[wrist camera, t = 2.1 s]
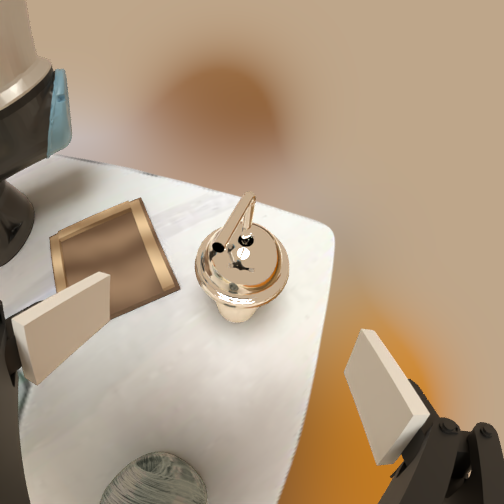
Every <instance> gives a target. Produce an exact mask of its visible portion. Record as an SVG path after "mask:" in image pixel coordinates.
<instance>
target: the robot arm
mask: <svg viewBox="0 0 504 504" xmlns="http://www.w3.org/2000/svg"><path fill="white" fill-rule="evenodd" d="M71 138H72V127H71V117H70V106H69V97H68V87H67V78H66V74H65V70H64V69H56V70H55V71H53V69H52V65H51V62H50V60H49V59H47V58H44V57H40V56H38V55H37V54H36V49H35V45H34V41H33V36H32V32H31V27H30V21H29V16H28V10H27V3H26V0H0V266H2V265H3V264H5V263H6V262H8V261H9V260H10V259H11V258H12V257H13V256H14V255H15V254H16V253H17V252H18V251H19V250H20V248H21V247H22V246H23V244H24V242H25V241H26V239H27V237H28V235H29V233H30V231H31V228H32V225H33V221H34V209H33V206H32V204H31V203H30V201H29V200H28V198H27V197H26V196H25V195H24V194H23V193H21V192H20V191H19V190H18V189H16V188H15V187H14V186H12V185H11V184H10V183H9V182H7V181H6V179H7V178H9V177H10V176H12V175H14V174H16V173H18V172H19V171H21V170H23V169H25V168H27V167H29V166H31V165H33V164H35V163H37V162H39V161H41V160H43V159H45V158H49V157H50V155H52V154H54V153H56V152H58V151H60V150H62V149H64V148H65V147H67V146H68V144H69V143H70V141H71ZM109 321H110V275H109V274H106V273H102V272H97V273H95V274H93V275H91V276H89V277H87V278H85V279H83V280H81V281H79V282H77V283H75V284H74V285H72V286H70V287H68V288H66V289H64V290H62V291H60V292H58V293H57V294H55V295H53V296H51V297H49V298H47V299H46V300H43V301H39V302H36V303H34V304H32V305H30V306H29V307H27V308H25V309H23V310H21V311H20V312H18V313H16V314H14V315H12V316H11V317H9V318H7V319H6V320H5V317H4V311H3V305H2V302H1V300H0V504H30V500H29V495H28V491H27V486H26V481H25V475H24V469H23V463H22V455H21V446H20V435H19V419H18V379H19V377H18V373H17V370H18V369H19V368H20V367H22V369H23V373H24V376H25V378H26V379H28V380H29V381H31V382H32V383H34V384H36V385H37V386H38V385H39V384H40V383H41V382H42V381H43V380H44V379H45V378H46V377H47V376H48V375H49V374H51V373H52V372H53V371H54V370H55V369H56V368H57V367H58V366H59V365H60V364H62V363H63V362H64V361H65V360H66V359H67V358H68V357H69V356H70V355H71V354H73V353H74V352H75V351H76V350H77V349H78V348H79V347H80V346H82V345H83V344H84V343H85V342H86V341H87V340H88V339H90V338H91V337H92V336H93V335H94V334H95V333H96V332H98V331H99V330H100V329H101V328H102V327H103V326H104V325H106V324H107V323H108V322H109ZM344 375H345V377H346V380H347V382H348V385H349V388H350V390H351V393H352V395H353V398H354V401H355V404H356V407H357V409H358V412H359V415H360V418H361V421H362V423H363V426H364V429H365V432H366V435H367V438H368V441H369V444H370V447H371V449H372V452H373V455H374V458H375V461H376V464H377V465H386V464H393V463H394V462H395V461H396V460H397V459H398V457H399V456H400V455H401V454H402V457H403V459H404V462H403V463H402V464H401V465H400V466H399V467H398V468H397V470H396V471H395V472H394V473H393V474H392V475H391V476H390V477H391V478H392V477H393V476H394V477H393V479H392V481H391V483H390V485H389V486H388V488H387V490H386V491H385V493H384V495H383V496H382V498H381V500H380V501H379V503H378V504H504V458H503V454H502V449H501V445H500V441H499V438H498V434H497V432H496V430H495V429H494V428H493V426H492V425H490V424H487V423H484V422H480V423H477V424H476V426H475V427H474V428H473V430H472V431H471V432H468V431H460V428H459V426H458V425H457V424H456V423H455V422H454V421H452V420H450V419H448V418H440V417H439V416H438V414H437V413H436V411H435V410H434V408H433V407H432V405H431V404H430V402H429V401H428V400H427V398H426V396H425V395H424V394H423V392H422V390H421V389H420V387H419V386H418V385H417V384H415V382H413V381H412V380H411V379H407V378H406V376H405V375H404V373H403V372H402V370H401V369H400V367H399V366H398V364H397V363H396V361H395V360H394V358H393V357H392V356H391V354H390V353H389V351H388V350H387V348H386V347H385V346H384V344H383V343H382V341H381V340H380V338H379V337H378V336H377V334H376V333H375V332H374V330H367V329H361V331H360V333H359V336H358V338H357V341H356V344H355V346H354V349H353V351H352V354H351V356H350V359H349V361H348V364H347V366H346V368H345V370H344ZM470 470H471V474H470V477H468V473H469V472H470Z"/></svg>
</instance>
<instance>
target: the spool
mask: <svg viewBox="0 0 504 504" xmlns="http://www.w3.org/2000/svg"><path fill="white" fill-rule="evenodd" d="M206 502H207V492H206V487H205V484H204V483H203V481H202V480H201V478H200V476H199V475H198V474H197V472H196V471H195V470H194V469H193V468H192V467H191V466H190V465H189V464H187V463H186V462H185V461H184V460H182V459H180V458H178V457H177V456H175V455H172V454H169V453H164V452H154V453H149V454H146V455H144V456H142V457H140V458H138V459H137V460H135V461H133V462H131V463H130V464H129V465H127V466H126V467H125V468H124V469H123V470H122V471H121V472H120V473H119V474H118V475H117V476H116V477H115V478H114V479H113V480H112V482H111V483H110V484H109V486H108V487H107V488H106V490H105V491H104V493H103V495H102V498H101V501H100V504H206Z"/></svg>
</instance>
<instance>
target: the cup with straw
mask: <svg viewBox="0 0 504 504" xmlns="http://www.w3.org/2000/svg"><path fill="white" fill-rule="evenodd" d="M255 203H256V196H255V194H254V193H253V192H251V191H248V192H246V193H244V194H243V196H242V197H241V199H240V201H239V202H238V204H237V205H236V207H235V209H234V210H233V212H232V213H231V215H230V216H229V218H228V220H227V221H226V223H225V224H224V226H223V227H221V228H219V229H217V230H215V231H213V232H212V233H211V234H209V235H208V236H207V237H206V238H205V239H204V241H203V242H202V243H201V245H200V247H199V249H198V252H197V256H196V259H195V272H196V277H197V280H198V282H199V284H200V286H201V287H202V289H203V290H204V292H205V293H206V294H207V295H208V296H210V297H211V298H212V299H213V300H215V301H216V304H217V307H218V310H219V312H220V314H221V315H222V317H223V318H225V319H226V320H228V321H230V322H233V323H241V322H244V321H247V320H248V319H250V318H251V317H252V315H253V314H254V313H255V311H256V310H257V308H258V307H260V306H263V305H265V304H268V303H269V302H271V301H272V300H274V299H275V298H276V297H277V296H278V295H279V294H280V293H281V292H282V290H283V289H284V287H285V285H286V283H287V280H288V277H289V259H288V255H287V252H286V250H285V248H284V246H283V245H282V243H281V242H280V241H279V240H278V239H277V238H276V237H275V236H274V235H273V234H272V233H271V232H270V231H269V230H268V229H266V228H265V227H263V226H261V225H259V224H257V223H254V222H252V220H253V214H254V208H255ZM242 218H243V221H241V220H242Z"/></svg>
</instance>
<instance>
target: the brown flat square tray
mask: <svg viewBox="0 0 504 504" xmlns="http://www.w3.org/2000/svg"><path fill="white" fill-rule="evenodd" d="M49 239H50V249H51V258H52V266H53V273H54V280H55V286H56V292H57V293H58V292H60V291H62V290H64V289H66V288H68V287H70V286H72V285H74V284H75V283H77V282H79V281H81V280H83V279H85V278H87V277H89V276H91V275H93V274H95V273H97V272H102V273H106V274H109V275H110V320H111V319H113V318H115V317H118V316H120V315H122V314H125V313H127V312H129V311H132V310H134V309H136V308H138V307H141V306H143V305H145V304H148V303H150V302H152V301H155V300H157V299H159V298H161V297H164V296H166V295H168V294H171V293H173V292H175V291H177V290H180V287H179V284H178V282H177V280H176V278H175V276H174V274H173V271H172V269H171V267H170V265H169V263H168V260H167V258H166V256H165V254H164V251H163V249H162V247H161V245H160V242H159V240H158V238H157V235H156V233H155V231H154V228H153V226H152V223H151V221H150V219H149V216H148V214H147V211H146V209H145V206H144V204H143V201H142V199H141V198H138V199H135V200H133V201H130V202H129V201H126V202H124V203H121V204H119V205H116V206H114V207H112V208H109V209H107V210H104V211H102V212H100V213H97V214H95V215H93V216H91V217H88V218H86V219H84V220H82V221H79V222H77V223H75V224H73V225H71V226H69V227H66V228H64V229H62V230H60V231H58V233H57V234H55V235H53V236H51V237H49Z"/></svg>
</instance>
